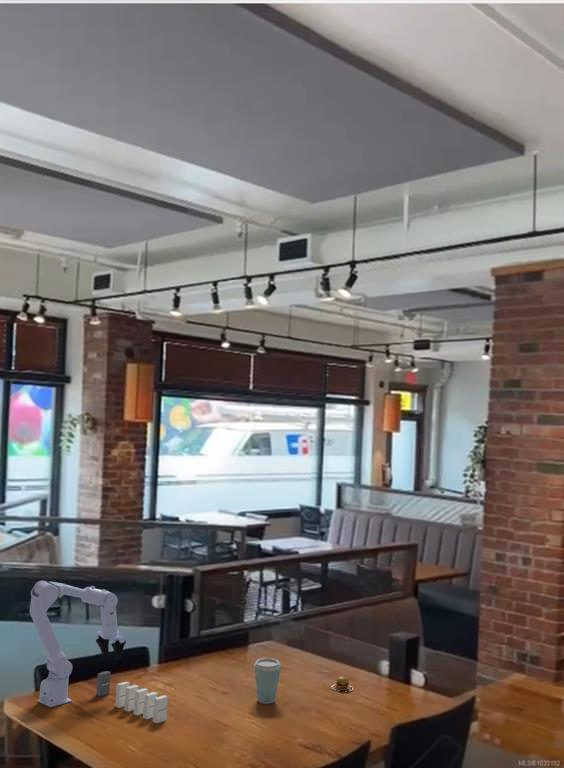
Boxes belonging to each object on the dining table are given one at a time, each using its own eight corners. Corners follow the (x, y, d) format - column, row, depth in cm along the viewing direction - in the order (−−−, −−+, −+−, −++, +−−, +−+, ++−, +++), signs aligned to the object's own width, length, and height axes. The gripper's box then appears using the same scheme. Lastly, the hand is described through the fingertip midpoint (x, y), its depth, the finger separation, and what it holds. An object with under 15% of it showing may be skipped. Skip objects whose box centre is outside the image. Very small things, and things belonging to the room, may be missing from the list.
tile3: (127, 711, 272) (129, 688, 273) (124, 710, 273) (125, 687, 274) (137, 708, 276) (139, 686, 276) (133, 707, 277) (135, 684, 277)
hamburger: (357, 687, 317) (357, 673, 317) (356, 696, 305) (357, 682, 305) (328, 684, 318) (328, 671, 319) (326, 693, 306) (327, 679, 307)
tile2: (118, 708, 275) (120, 685, 276) (115, 706, 276) (116, 683, 277) (128, 705, 279) (130, 682, 279) (124, 703, 280) (126, 681, 281)
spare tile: (99, 696, 286) (101, 674, 286) (96, 695, 287) (97, 673, 288) (109, 693, 289) (110, 672, 290) (105, 692, 291) (107, 671, 291)
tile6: (156, 723, 263) (158, 699, 263) (152, 721, 264) (154, 698, 265) (166, 720, 266) (167, 696, 267) (162, 718, 268) (163, 695, 268)
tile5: (146, 719, 266) (148, 695, 266) (142, 717, 267) (144, 694, 268) (156, 716, 269) (158, 693, 270) (152, 714, 271) (154, 691, 271)
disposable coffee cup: (276, 707, 285) (278, 666, 287) (248, 703, 288) (250, 663, 289) (281, 698, 296) (284, 658, 297) (254, 694, 298) (257, 655, 299)
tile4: (137, 715, 269) (138, 692, 270) (133, 714, 270) (135, 690, 271) (146, 712, 272) (148, 689, 273) (143, 710, 274) (144, 688, 274)
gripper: (129, 622, 290) (132, 657, 291) (105, 616, 299) (108, 650, 300) (115, 628, 285) (118, 664, 285) (90, 622, 294) (93, 657, 294)
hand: (112, 657), depth 292 cm, fingers open, 7 cm apart
